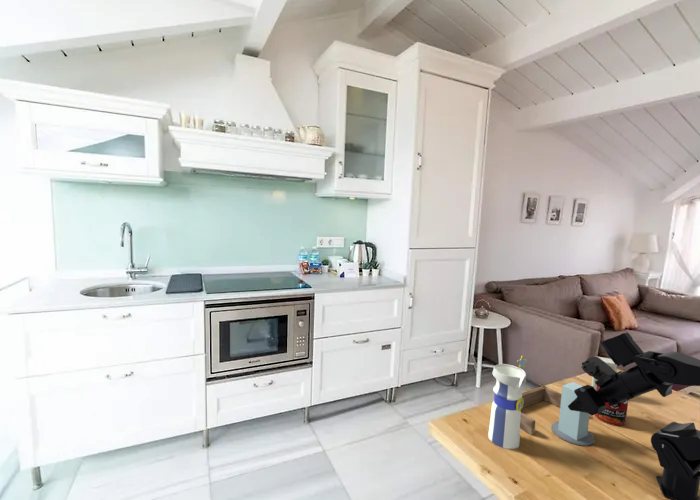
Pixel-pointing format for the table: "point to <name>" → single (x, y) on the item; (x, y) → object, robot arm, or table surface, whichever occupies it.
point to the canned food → (614, 413)
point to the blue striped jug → (507, 405)
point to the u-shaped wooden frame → (533, 397)
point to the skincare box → (610, 363)
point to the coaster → (582, 442)
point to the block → (572, 414)
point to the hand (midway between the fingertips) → (579, 403)
